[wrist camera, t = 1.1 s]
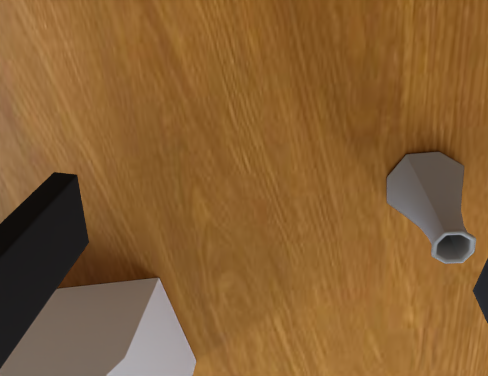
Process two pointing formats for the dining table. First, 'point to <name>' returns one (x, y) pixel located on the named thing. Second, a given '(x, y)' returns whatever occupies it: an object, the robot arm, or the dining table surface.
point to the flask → (433, 202)
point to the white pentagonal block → (104, 334)
